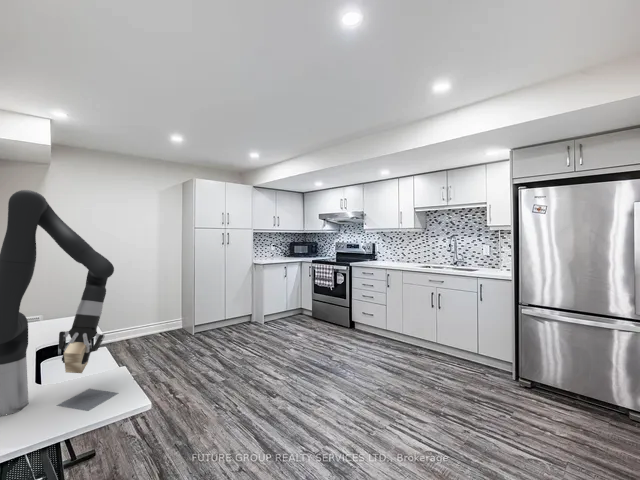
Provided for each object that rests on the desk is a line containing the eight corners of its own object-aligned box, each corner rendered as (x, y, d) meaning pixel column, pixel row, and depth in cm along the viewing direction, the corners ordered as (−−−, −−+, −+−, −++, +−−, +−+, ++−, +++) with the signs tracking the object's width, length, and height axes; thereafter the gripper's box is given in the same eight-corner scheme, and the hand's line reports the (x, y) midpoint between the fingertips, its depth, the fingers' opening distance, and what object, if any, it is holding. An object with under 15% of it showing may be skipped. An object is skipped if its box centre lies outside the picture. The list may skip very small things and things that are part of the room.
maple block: (65, 372, 114) (63, 352, 109) (72, 360, 118) (71, 341, 114) (81, 373, 115) (80, 353, 111) (88, 361, 120) (87, 342, 115)
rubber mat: (56, 407, 111) (56, 405, 111) (89, 390, 122) (89, 388, 122) (88, 412, 107) (88, 410, 107) (119, 394, 119) (119, 393, 119)
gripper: (61, 311, 113) (45, 363, 108) (107, 315, 117) (93, 365, 112) (70, 312, 120) (55, 360, 115) (113, 316, 124) (100, 363, 119)
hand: (74, 363), depth 113 cm, fingers closed on maple block, 5 cm apart
